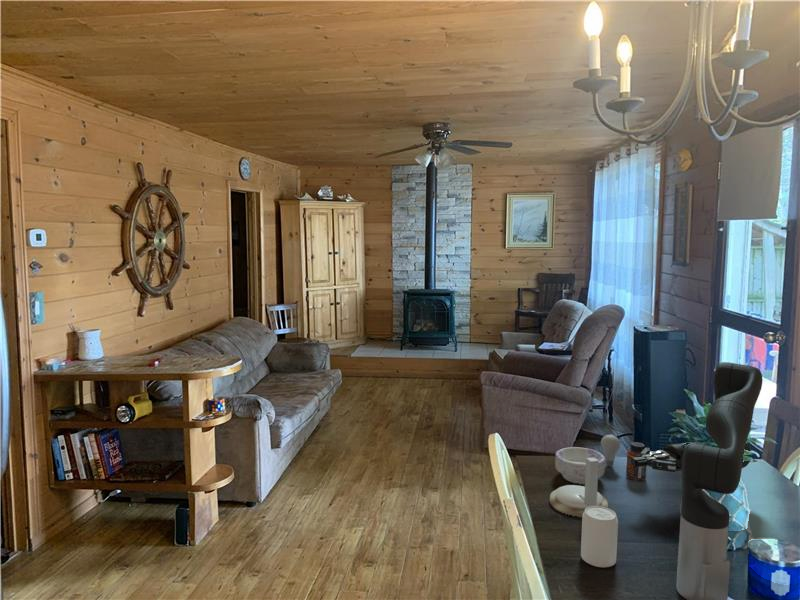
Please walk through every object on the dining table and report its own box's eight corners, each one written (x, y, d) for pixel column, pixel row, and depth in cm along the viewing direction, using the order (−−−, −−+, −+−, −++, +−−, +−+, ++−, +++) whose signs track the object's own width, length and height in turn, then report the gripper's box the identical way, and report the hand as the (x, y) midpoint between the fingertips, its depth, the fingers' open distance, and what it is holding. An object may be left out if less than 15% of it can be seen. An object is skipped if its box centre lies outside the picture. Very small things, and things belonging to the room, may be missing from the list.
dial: (613, 507, 163) (615, 458, 161) (571, 512, 160) (573, 463, 158) (586, 486, 176) (588, 441, 175) (547, 491, 173) (548, 445, 171)
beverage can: (588, 547, 146) (590, 501, 144) (620, 558, 141) (623, 511, 139) (575, 561, 139) (577, 513, 138) (608, 573, 134) (611, 524, 133)
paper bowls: (546, 471, 192) (546, 448, 191) (586, 466, 196) (587, 444, 195) (571, 491, 177) (572, 466, 176) (614, 485, 181) (615, 461, 180)
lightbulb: (620, 471, 192) (621, 439, 191) (601, 469, 194) (602, 437, 192) (617, 463, 198) (618, 432, 197) (598, 462, 199) (600, 431, 198)
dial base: (619, 514, 163) (619, 508, 163) (568, 520, 159) (568, 515, 159) (587, 489, 178) (587, 484, 178) (540, 495, 174) (540, 490, 174)
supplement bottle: (621, 476, 188) (623, 442, 187) (635, 472, 191) (637, 439, 190) (636, 483, 183) (638, 448, 182) (650, 479, 186) (652, 445, 184)
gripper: (670, 436, 176) (619, 441, 171) (702, 452, 163) (649, 459, 159) (668, 459, 177) (618, 465, 172) (700, 478, 164) (647, 485, 160)
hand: (633, 462), depth 166 cm, fingers closed
